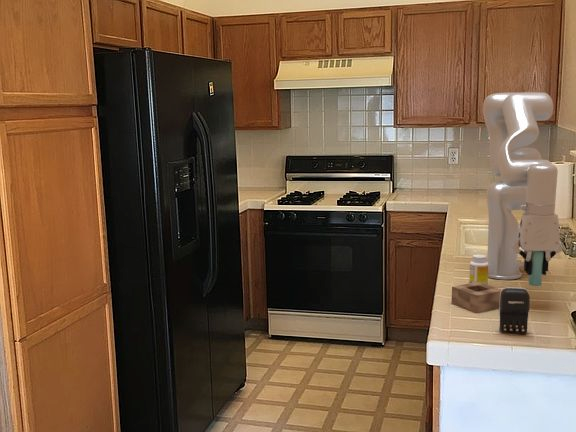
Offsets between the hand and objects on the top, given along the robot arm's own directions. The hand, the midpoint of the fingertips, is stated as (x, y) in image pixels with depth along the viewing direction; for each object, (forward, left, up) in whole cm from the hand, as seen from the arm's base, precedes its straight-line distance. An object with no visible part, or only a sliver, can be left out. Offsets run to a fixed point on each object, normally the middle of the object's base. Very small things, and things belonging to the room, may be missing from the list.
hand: (535, 273), depth 176 cm
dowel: (0, 0, -3) cm, 3 cm away
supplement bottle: (0, -22, -10) cm, 24 cm away
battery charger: (+21, +12, -10) cm, 26 cm away
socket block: (+13, -9, -10) cm, 18 cm away
